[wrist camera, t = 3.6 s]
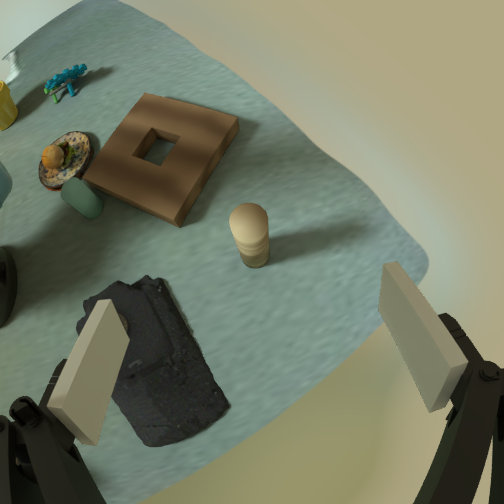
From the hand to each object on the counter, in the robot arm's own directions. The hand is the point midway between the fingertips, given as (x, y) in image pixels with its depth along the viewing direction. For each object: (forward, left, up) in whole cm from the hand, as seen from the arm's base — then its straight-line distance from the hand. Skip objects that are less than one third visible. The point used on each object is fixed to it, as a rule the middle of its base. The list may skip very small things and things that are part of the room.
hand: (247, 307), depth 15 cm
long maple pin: (+8, +5, -25) cm, 27 cm away
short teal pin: (+4, +31, -25) cm, 40 cm away
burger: (+9, +43, -25) cm, 51 cm away
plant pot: (+13, +74, -25) cm, 79 cm away
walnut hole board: (+16, +25, -25) cm, 39 cm away
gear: (+25, +58, -25) cm, 68 cm away
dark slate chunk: (-11, +11, -26) cm, 30 cm away
